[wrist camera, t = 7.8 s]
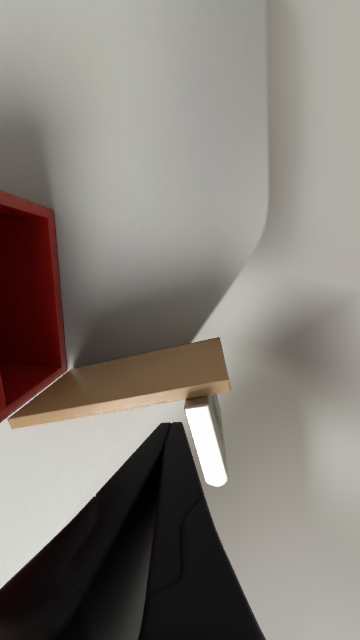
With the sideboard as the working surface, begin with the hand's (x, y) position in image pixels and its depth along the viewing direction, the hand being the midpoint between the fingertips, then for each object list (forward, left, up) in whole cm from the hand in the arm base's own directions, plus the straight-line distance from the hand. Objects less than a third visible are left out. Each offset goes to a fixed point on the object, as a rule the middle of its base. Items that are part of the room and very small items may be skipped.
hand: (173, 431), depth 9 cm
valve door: (+4, +5, -11) cm, 13 cm away
